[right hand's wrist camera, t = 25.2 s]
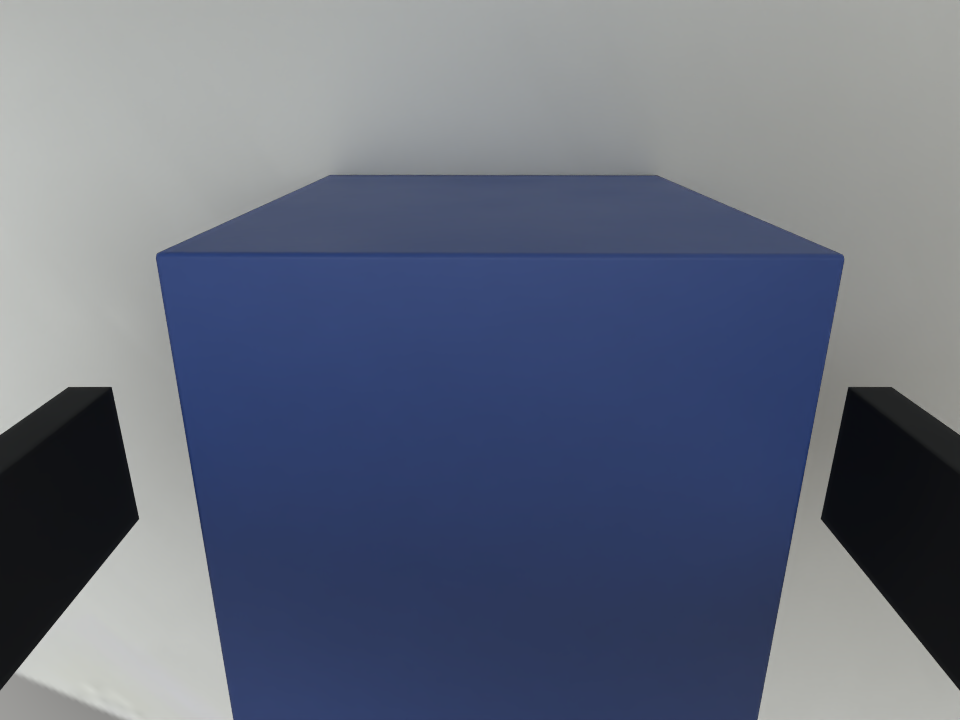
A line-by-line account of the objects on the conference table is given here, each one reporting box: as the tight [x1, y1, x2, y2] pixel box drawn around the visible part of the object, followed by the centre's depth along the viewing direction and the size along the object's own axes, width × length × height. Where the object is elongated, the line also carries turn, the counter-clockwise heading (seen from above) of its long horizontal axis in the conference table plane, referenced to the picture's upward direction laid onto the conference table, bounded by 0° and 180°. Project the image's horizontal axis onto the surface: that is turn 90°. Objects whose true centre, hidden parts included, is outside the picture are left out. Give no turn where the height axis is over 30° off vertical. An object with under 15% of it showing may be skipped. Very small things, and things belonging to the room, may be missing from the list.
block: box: [156, 175, 844, 720], centre depth 14 cm, size 8×9×10 cm
